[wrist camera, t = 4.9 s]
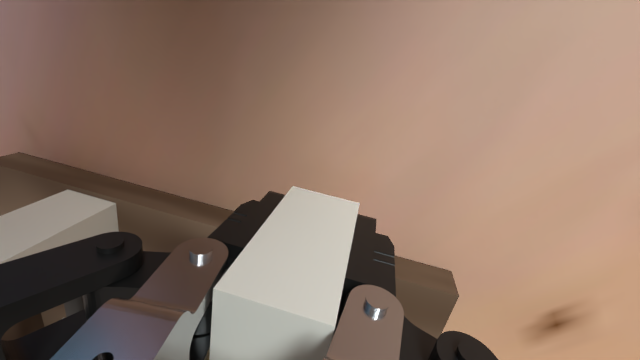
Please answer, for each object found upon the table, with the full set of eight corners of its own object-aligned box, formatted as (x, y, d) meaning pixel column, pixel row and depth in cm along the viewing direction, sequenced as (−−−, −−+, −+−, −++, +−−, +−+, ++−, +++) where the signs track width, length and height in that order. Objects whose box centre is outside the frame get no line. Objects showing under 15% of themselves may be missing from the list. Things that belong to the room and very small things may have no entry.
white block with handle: (35, 180, 14) (-163, 245, 9) (151, 213, 13) (6, 304, 8) (75, 374, 19) (-34, 483, 14) (159, 405, 19) (75, 531, 14)
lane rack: (19, 152, 16) (-94, 179, 12) (451, 271, 13) (476, 353, 9) (63, 350, 21) (-4, 409, 18) (367, 460, 19) (362, 557, 15)
